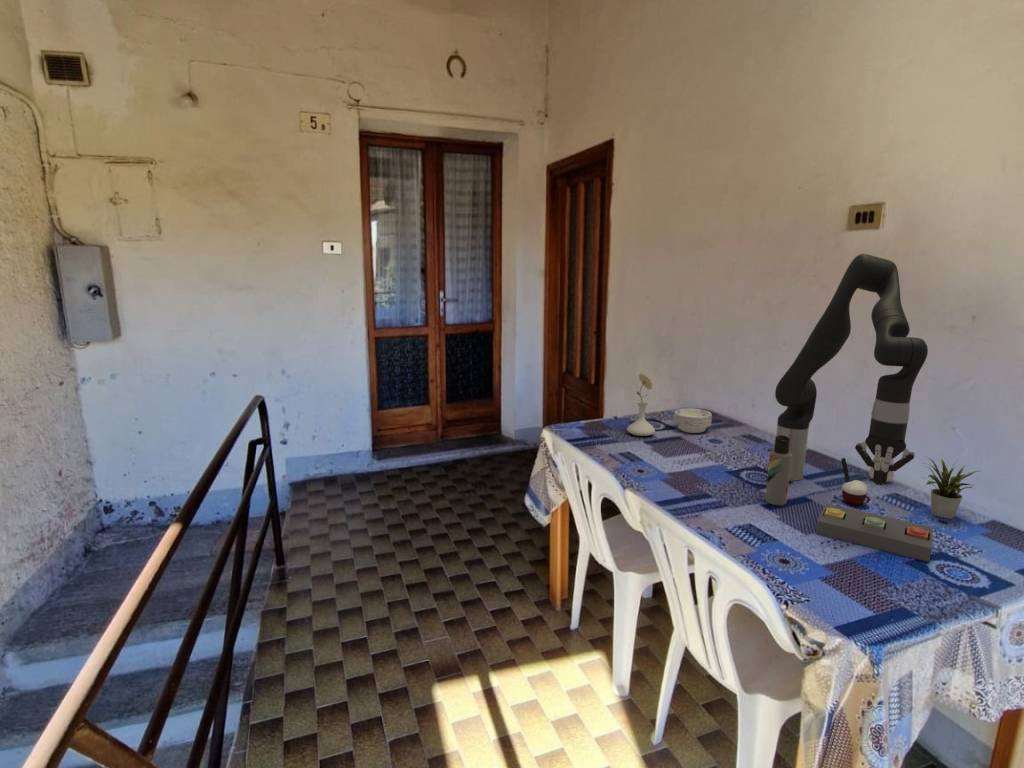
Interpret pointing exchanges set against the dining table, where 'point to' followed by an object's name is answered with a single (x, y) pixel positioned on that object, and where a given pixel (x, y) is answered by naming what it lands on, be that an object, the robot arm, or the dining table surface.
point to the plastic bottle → (890, 473)
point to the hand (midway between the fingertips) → (878, 484)
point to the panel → (876, 533)
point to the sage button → (874, 522)
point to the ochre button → (835, 513)
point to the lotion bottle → (779, 472)
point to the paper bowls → (692, 420)
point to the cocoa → (853, 489)
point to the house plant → (946, 491)
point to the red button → (917, 532)
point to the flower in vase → (642, 412)
